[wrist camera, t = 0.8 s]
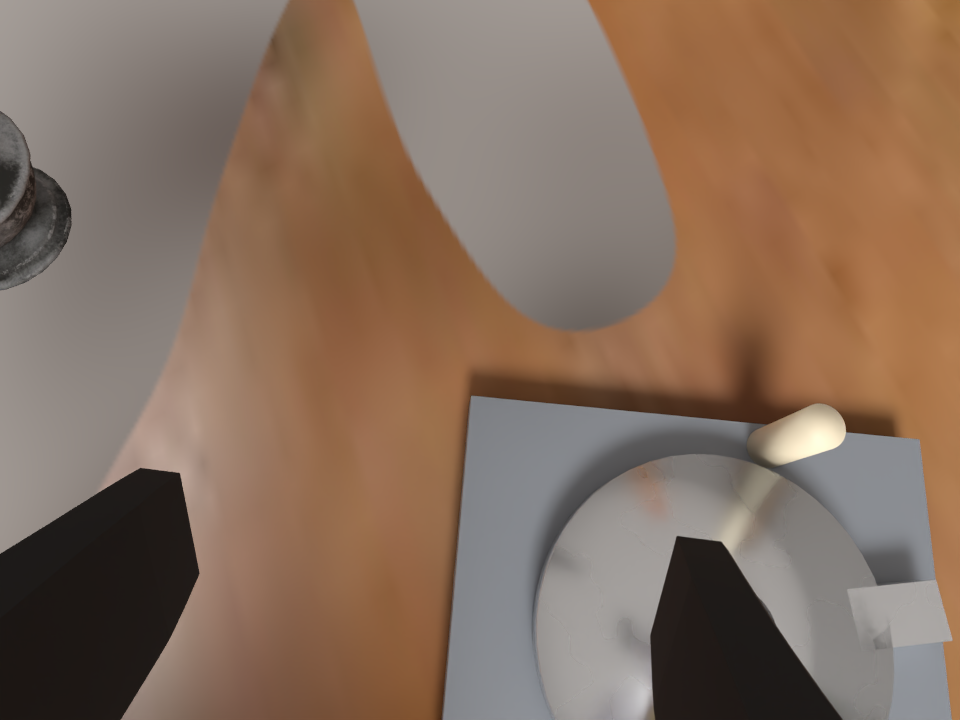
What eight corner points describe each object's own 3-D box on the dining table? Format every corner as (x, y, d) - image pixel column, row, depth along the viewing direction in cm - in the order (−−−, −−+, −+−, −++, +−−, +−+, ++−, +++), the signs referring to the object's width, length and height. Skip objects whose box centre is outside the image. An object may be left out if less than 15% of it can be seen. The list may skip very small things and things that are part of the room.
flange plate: (953, 850, 21) (1073, 912, 17) (521, 821, 20) (544, 878, 16) (912, 479, 24) (1005, 460, 20) (541, 444, 23) (564, 418, 20)
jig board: (943, 891, 22) (1084, 975, 17) (429, 857, 21) (430, 936, 16) (897, 445, 26) (999, 416, 21) (469, 404, 25) (479, 365, 20)
